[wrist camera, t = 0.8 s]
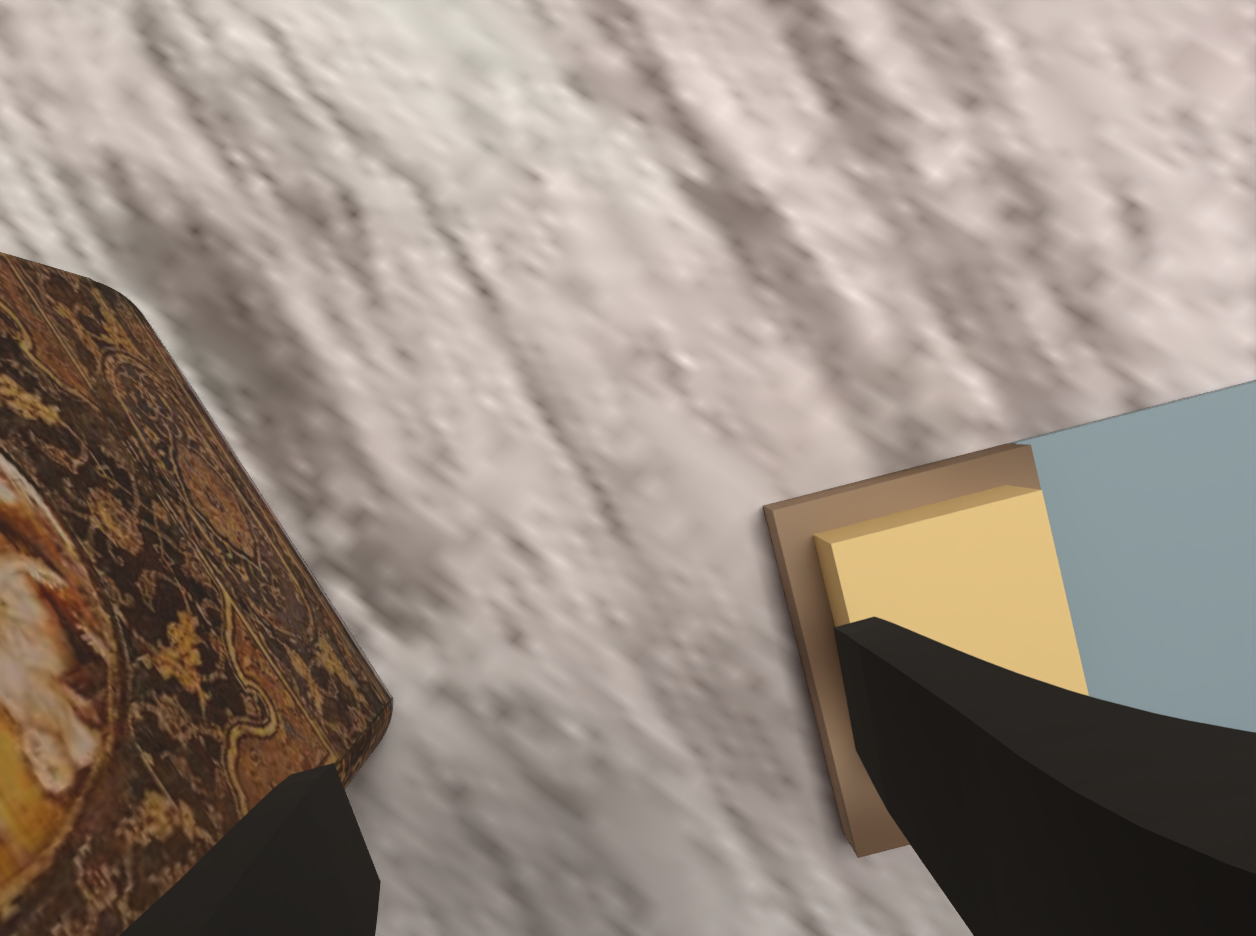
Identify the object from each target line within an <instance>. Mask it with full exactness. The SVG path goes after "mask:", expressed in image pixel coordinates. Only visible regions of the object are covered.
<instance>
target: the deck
mask: <svg viewBox="0 0 1256 936" xmlns="http://www.w3.org/2000/svg"><path fill="white" fill-rule="evenodd" d="M1004 485H1009V486H1017V487H1024V488H1031V489H1038V490H1041V487H1040V482H1039V478H1038V473H1037V469H1036V465H1035V460H1034V456H1033V452H1032V447H1031V445H1029V444H1003V445H1000V446H996V447H992V448H988V449H984V450H980V451H976V452H972V453H968V454H964V455H960V456H956V457H953V458H949V459H945V460H941V461H937V462H933V463H929V464H925V465H921V466H917V467H913V468H910V469H906V470H902V471H898V472H894V473H890V474H886V475H882V476H878V477H874V478H870V479H866V480H863V481H859V482H855V483H851V484H847V485H843V486H839V487H835V488H831V489H827V490H823V491H819V492H816V493H812V494H808V495H804V496H800V497H796V498H792V499H788V500H784V501H780V502H776V503H772V504H769V505H765V506H763V507H764V511H765V515H766V520H767V524H768V528H769V532H770V536H771V540H772V544H773V548H774V552H775V556H776V560H777V564H778V568H779V572H780V576H781V580H782V584H783V588H784V593H785V597H786V601H787V605H788V609H789V613H790V617H791V621H792V625H793V629H794V633H795V637H796V641H797V645H798V649H799V653H800V657H801V662H802V666H803V670H804V674H805V678H806V682H807V686H808V690H809V694H810V698H811V702H812V706H813V710H814V714H815V718H816V722H817V726H818V731H819V735H820V739H821V743H822V747H823V751H824V755H825V759H826V763H827V767H828V771H829V775H830V779H831V783H832V787H833V791H834V795H835V800H836V804H837V808H838V812H839V816H840V820H841V824H842V828H843V832H844V834H845V836H846V838H847V840H848V841H849V843H850V845H851V847H852V848H853V850H854V852H855V854H856V855H857V857H858V858H859V857H863V856H867V855H871V854H875V853H878V852H882V851H886V850H890V849H894V848H898V847H902V846H906V845H909V844H910V843H909V842H908V840H907V839H906V837H905V836H904V834H903V833H902V832H901V830H900V829H899V827H898V826H897V824H896V823H895V821H894V820H893V818H892V817H891V815H890V814H889V812H888V811H887V809H886V807H885V805H884V803H883V802H882V800H881V798H880V796H879V794H878V792H877V790H876V789H875V787H874V785H873V783H872V781H871V779H870V777H869V775H868V773H867V771H866V769H865V767H864V765H863V763H862V761H861V759H860V757H859V755H858V754H857V752H856V750H855V744H854V738H853V733H852V727H851V722H850V716H849V711H848V705H847V700H846V694H845V689H844V683H843V678H842V672H841V667H840V661H839V656H838V650H837V645H836V639H835V634H834V627H835V624H834V620H833V615H832V611H831V607H830V603H829V599H828V595H827V591H826V587H825V583H824V579H823V574H822V570H821V566H820V562H819V558H818V554H817V550H816V546H815V542H814V537H813V534H817V533H821V532H825V531H829V530H832V529H836V528H840V527H844V526H848V525H852V524H856V523H860V522H864V521H868V520H872V519H875V518H879V517H883V516H887V515H891V514H895V513H899V512H903V511H907V510H911V509H915V508H918V507H922V506H926V505H930V504H934V503H938V502H942V501H946V500H950V499H954V498H958V497H961V496H965V495H969V494H973V493H977V492H981V491H985V490H989V489H993V488H997V487H1001V486H1004Z"/></svg>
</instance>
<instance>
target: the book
mask: <svg viewBox="0 0 1256 936" xmlns="http://www.w3.org/2000/svg"><path fill="white" fill-rule="evenodd" d="M392 710H393V697H392V696H391V695H390V693H389V692H388V690H387V689H386V687H385V685H384V684H383V682H382V681H381V679H380V678H379V676H378V675H377V673H376V672H375V670H374V668H373V667H372V665H371V664H370V662H369V661H368V659H367V658H366V656H365V654H364V653H363V651H362V650H361V648H360V647H359V645H358V644H357V642H356V641H355V639H354V637H353V636H352V634H351V633H350V631H349V630H348V628H347V627H346V625H345V624H344V622H343V620H342V619H341V617H340V616H339V614H338V613H337V611H336V610H335V608H334V607H333V605H332V603H331V602H330V600H329V599H328V597H327V596H326V594H325V593H324V591H323V589H322V588H321V586H320V585H319V583H318V582H317V580H316V579H315V577H314V576H313V574H312V572H311V571H310V569H309V568H308V566H307V565H306V563H305V562H304V560H303V559H302V557H301V555H300V554H299V552H298V551H297V549H296V548H295V546H294V545H293V543H292V542H291V540H290V538H289V537H288V535H287V534H286V532H285V531H284V529H283V528H282V526H281V524H280V523H279V521H278V520H277V518H276V517H275V515H274V514H273V512H272V511H271V509H270V507H269V506H268V504H267V503H266V501H265V500H264V498H263V497H262V495H261V494H260V492H259V490H258V489H257V487H256V486H255V484H254V483H253V481H252V480H251V478H250V477H249V475H248V473H247V472H246V470H245V469H244V467H243V466H242V464H241V463H240V461H239V459H238V458H237V456H236V455H235V453H234V452H233V450H232V449H231V447H230V446H229V444H228V442H227V441H226V439H225V438H224V436H223V435H222V433H221V432H220V430H219V429H218V427H217V425H216V424H215V422H214V421H213V419H212V418H211V416H210V415H209V413H208V412H207V410H206V408H205V407H204V405H203V404H202V402H201V401H200V399H199V398H198V396H197V394H196V393H195V392H194V390H193V389H192V387H191V386H190V384H189V383H188V381H187V380H186V378H185V377H184V375H183V374H182V372H181V371H180V369H179V368H178V366H177V365H176V363H175V362H174V360H173V359H172V357H171V356H170V354H169V353H168V351H167V350H166V349H165V347H164V346H163V344H162V343H161V341H160V340H159V338H158V337H157V335H156V334H155V332H154V331H153V329H152V328H151V326H150V325H149V323H148V322H147V320H146V319H145V317H144V316H143V315H142V313H141V312H140V311H139V309H138V308H137V307H136V306H135V305H134V304H133V303H132V302H131V301H130V300H129V299H127V298H126V297H125V296H124V295H122V294H121V293H119V292H118V291H116V290H114V289H112V288H110V287H108V286H106V285H104V284H101V283H99V282H95V281H93V280H92V279H90V278H87V277H83V276H80V275H77V274H73V273H70V272H67V271H63V270H60V269H57V268H53V267H50V266H47V265H43V264H40V263H36V262H33V261H29V260H26V259H22V258H19V257H15V256H12V255H8V254H5V253H2V252H0V936H119V935H120V934H121V933H122V932H124V931H125V930H126V929H127V928H128V927H129V926H130V925H131V924H132V923H133V922H134V921H135V920H137V919H138V918H139V917H140V916H141V915H142V914H143V913H144V912H145V911H146V910H147V909H148V908H150V907H151V906H152V905H153V904H154V903H155V902H156V901H157V900H158V899H159V898H160V897H162V896H163V895H164V894H165V893H166V892H167V891H168V890H169V889H170V888H171V887H172V886H173V885H174V884H175V883H177V882H178V881H179V880H180V879H181V878H182V877H183V876H184V875H185V874H186V873H187V872H188V871H189V870H190V869H191V868H192V867H193V866H194V865H195V864H196V863H197V862H198V861H199V860H200V859H201V858H202V857H203V856H204V855H205V854H206V853H207V852H208V851H209V850H210V849H211V848H212V847H213V846H214V845H215V844H216V843H217V842H218V841H219V840H220V839H222V838H223V837H224V836H225V835H226V834H227V833H228V832H229V831H230V830H231V829H232V828H233V827H234V826H235V825H236V824H237V823H238V822H239V821H240V820H241V819H242V818H243V817H244V816H245V815H246V814H247V813H248V812H249V811H250V810H251V809H252V808H253V807H254V806H255V805H256V804H257V803H258V802H259V801H261V800H262V799H263V798H264V797H265V796H266V795H267V794H268V793H269V792H270V791H271V790H272V789H274V788H275V787H276V786H277V785H278V784H279V783H281V782H282V781H283V780H284V779H286V778H287V777H288V776H289V775H291V774H294V773H298V772H302V771H305V770H309V769H313V768H316V767H320V766H324V765H327V764H331V763H334V764H335V767H336V769H337V772H338V775H339V777H340V780H341V782H342V785H343V787H344V789H345V788H346V786H347V785H348V784H349V782H350V781H351V780H352V778H353V777H354V776H355V774H356V773H357V772H358V770H359V769H360V768H361V766H362V765H363V764H364V762H365V761H366V760H367V758H368V757H369V756H370V754H371V753H372V752H373V750H374V749H375V748H376V746H377V745H378V744H379V742H380V741H381V739H382V738H383V736H384V734H385V732H386V730H387V728H388V725H389V722H390V719H391V715H392Z"/></svg>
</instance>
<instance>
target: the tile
mask: <svg viewBox="0 0 1256 936" xmlns="http://www.w3.org/2000/svg"><path fill="white" fill-rule="evenodd" d="M813 537H814V542H815V546H816V550H817V554H818V558H819V562H820V566H821V570H822V574H823V579H824V583H825V587H826V591H827V595H828V599H829V603H830V607H831V611H832V615H833V620H834V624H835V627H837V626H841V625H845V624H848V623H852V622H856V621H860V620H863V619H867V618H871V617H874V616H875V617H878V618H881V619H884V620H886V621H889V622H892V623H894V624H897V625H899V626H902V627H904V628H906V629H909V630H911V631H914V632H916V633H918V634H921V635H923V636H926V637H928V638H930V639H933V640H935V641H937V642H940V643H942V644H945V645H947V646H949V647H952V648H954V649H957V650H959V651H962V652H964V653H967V654H969V655H972V656H974V657H977V658H979V659H982V660H984V661H987V662H990V663H992V664H995V665H997V666H1000V667H1003V668H1005V669H1008V670H1011V671H1014V672H1016V673H1019V674H1022V675H1025V676H1028V677H1031V678H1034V679H1037V680H1040V681H1043V682H1046V683H1049V684H1052V685H1055V686H1058V687H1061V688H1064V689H1067V690H1070V691H1073V692H1077V693H1080V694H1084V695H1087V696H1089V694H1088V690H1087V685H1086V681H1085V676H1084V672H1083V668H1082V663H1081V659H1080V655H1079V650H1078V646H1077V641H1076V637H1075V633H1074V628H1073V624H1072V620H1071V615H1070V611H1069V606H1068V602H1067V598H1066V593H1065V589H1064V584H1063V580H1062V576H1061V571H1060V567H1059V563H1058V558H1057V554H1056V549H1055V545H1054V541H1053V536H1052V532H1051V528H1050V523H1049V519H1048V514H1047V510H1046V506H1045V501H1044V497H1043V493H1042V490H1038V489H1031V488H1024V487H1017V486H1009V485H1004V486H1001V487H997V488H993V489H989V490H985V491H981V492H977V493H973V494H969V495H965V496H961V497H958V498H954V499H950V500H946V501H942V502H938V503H934V504H930V505H926V506H922V507H918V508H915V509H911V510H907V511H903V512H899V513H895V514H891V515H887V516H883V517H879V518H875V519H872V520H868V521H864V522H860V523H856V524H852V525H848V526H844V527H840V528H836V529H832V530H829V531H825V532H821V533H817V534H813Z"/></svg>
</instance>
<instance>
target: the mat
mask: <svg viewBox="0 0 1256 936" xmlns="http://www.w3.org/2000/svg"><path fill="white" fill-rule="evenodd" d="M1009 444H1029V445H1031V447H1032V452H1033V456H1034V460H1035V465H1036V469H1037V473H1038V478H1039V482H1040V487H1041V490H1042V493H1043V497H1044V501H1045V506H1046V510H1047V514H1048V519H1049V523H1050V528H1051V532H1052V536H1053V541H1054V545H1055V549H1056V554H1057V558H1058V563H1059V567H1060V571H1061V576H1062V580H1063V584H1064V589H1065V593H1066V598H1067V602H1068V606H1069V611H1070V615H1071V620H1072V624H1073V628H1074V633H1075V637H1076V641H1077V646H1078V650H1079V655H1080V659H1081V663H1082V668H1083V672H1084V676H1085V681H1086V685H1087V690H1088V694H1089V696H1090V697H1094V698H1098V699H1101V700H1105V701H1109V702H1113V703H1117V704H1121V705H1125V706H1129V707H1133V708H1137V709H1140V710H1144V711H1148V712H1152V713H1157V714H1161V715H1166V716H1170V717H1175V718H1180V719H1184V720H1189V721H1195V722H1200V723H1206V724H1211V725H1217V726H1222V727H1228V728H1233V729H1239V730H1244V731H1250V732H1256V380H1254V381H1250V382H1246V383H1242V384H1238V385H1234V386H1231V387H1227V388H1223V389H1219V390H1215V391H1211V392H1207V393H1203V394H1199V395H1195V396H1191V397H1187V398H1184V399H1180V400H1176V401H1172V402H1168V403H1164V404H1160V405H1156V406H1152V407H1148V408H1144V409H1141V410H1137V411H1133V412H1129V413H1125V414H1121V415H1117V416H1113V417H1109V418H1105V419H1101V420H1097V421H1094V422H1090V423H1086V424H1082V425H1078V426H1074V427H1070V428H1066V429H1062V430H1058V431H1054V432H1050V433H1047V434H1043V435H1039V436H1035V437H1031V438H1027V439H1023V440H1019V441H1015V442H1011V443H1009Z"/></svg>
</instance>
